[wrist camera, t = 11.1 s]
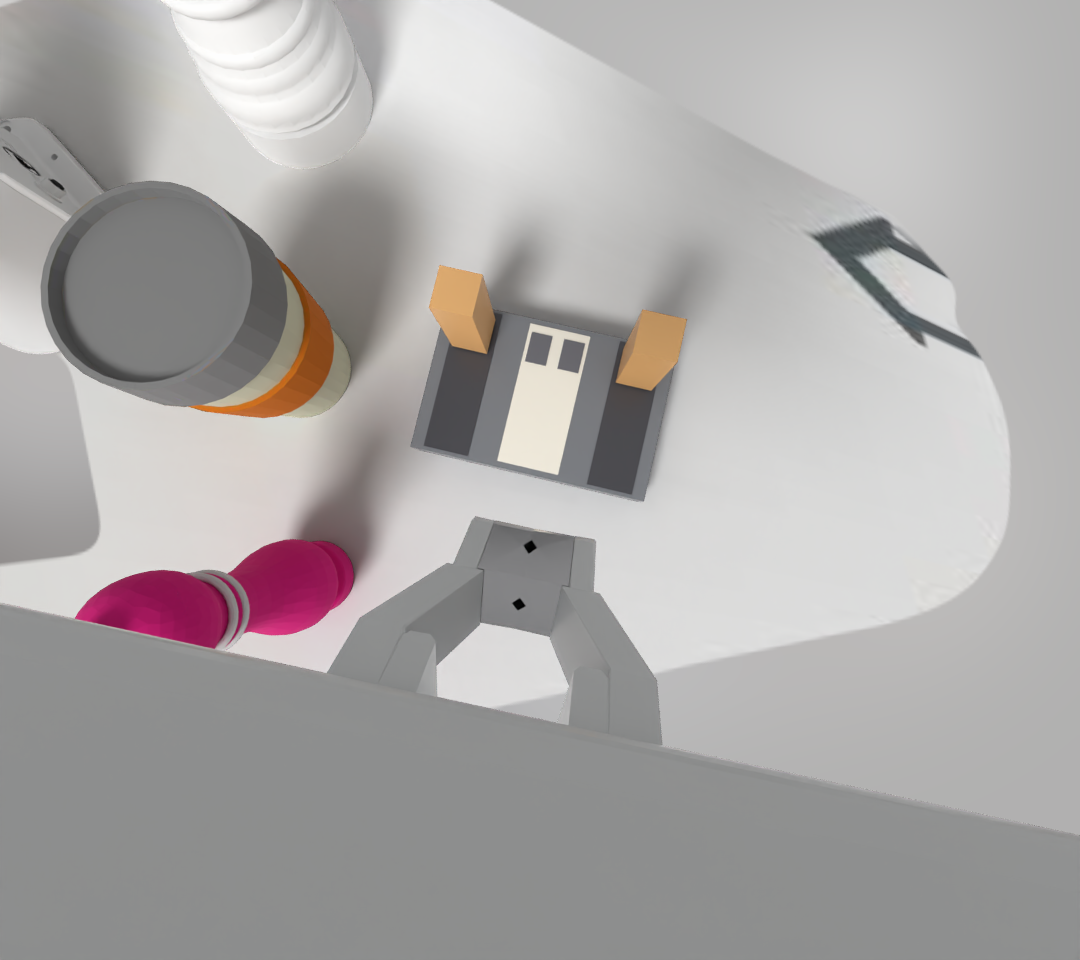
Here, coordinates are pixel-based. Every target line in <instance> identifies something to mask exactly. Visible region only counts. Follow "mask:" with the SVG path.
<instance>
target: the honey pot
mask: <svg viewBox="0 0 1080 960" xmlns="http://www.w3.org/2000/svg"><path fill="white" fill-rule="evenodd" d="M160 1H161V2H162V3H164V4H165V5H166V6H168V7H169V8H170V11H171V15H172V18H173V21H174V23H175V26H176V29H177V31H178V33H179V34H180V36H181V37H182V38H183V40H184V41H185V44H186V46H187V49H188V52H189V54H190V56H191V57H192V59H193V61H194V63H195V66H196V69H197V72H198V74H199V77H200V79H201V81H202V82H203V84H204V86H205V87H206V89H207V90H208V91H209V93H210V94H211V95H212V97H213V98H214V99H215V101H216V102H217V103H218V104H219V105H220V106H221V108H222V109H223V110H224V112H225V113H226V114H227V115H228V116H229V118H230V119H231V120H232V121H233V123H234V124H235V125H236V126H237V128H238V129H239V130H240V131H241V132H242V134H243V135H244V136H245V137H246V138H247V140H248V141H249V142H250V143H251V144H252V146H253V147H254V148H255V149H256V150H257V151H258V152H259V153H261V154H262V155H263V156H264V157H266V158H267V159H268V160H270V161H272V162H275V163H277V164H279V165H282V166H284V167H290V168H298V169H308V168H316V167H322V166H324V165H327V164H329V163H332V162H334V161H337V160H338V159H340V158H341V157H343V156H344V155H345V154H347V153H348V152H350V151H351V150H352V149H353V148H354V147H355V145H356V144H357V143H358V142H359V141H360V139H361V138H362V137H363V135H364V133H365V131H366V129H367V127H368V125H369V122H370V120H371V114H372V108H373V96H372V87H371V84H370V82H369V79H368V77H367V74H366V72H365V70H364V67H363V65H362V62H361V60H360V58H359V55H358V53H357V51H356V48H355V46H354V43H353V41H352V39H351V36H350V34H349V32H348V29H347V27H346V25H345V23H344V20H343V18H342V15H341V13H340V11H339V9H338V8H337V6H336V5H335V3H334V2H333V1H332V0H160Z"/></svg>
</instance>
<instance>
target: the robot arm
mask: <svg viewBox="0 0 1080 960" xmlns="http://www.w3.org/2000/svg"><path fill="white" fill-rule="evenodd" d="M102 193H104V190H103V189H102V188H101V187H100V186H99V185H98V184H97V183H96V182H95V180H94V179H93V178H92V177H91V176H90V175H89V174H88V173H87V171H86V170H85V169H84V168H83V167H82V166H81V165H80V164H79V163H78V161H77V160H76V159H75V158H74V157H73V156H72V155H71V154H70V153H69V151H68V150H67V149H66V148H65V147H64V146H63V145H62V144H61V143H60V141H59V140H58V139H57V138H56V137H55V136H54V135H53V134H52V133H51V132H50V130H49V129H48V128H46V127H45V126H44V125H42V124H41V123H39V122H38V121H36V120H35V119H32V118H11V119H5V120H1V121H0V343H1V344H3V345H5V346H7V347H10V348H12V349H15V350H17V351H21V352H25V353H31V354H49V353H55V352H59V351H60V350H59V349H58V347H57V346H56V345H55V343H54V341H53V339H52V337H51V335H50V333H49V331H48V329H47V327H46V323H45V319H44V315H43V311H42V307H41V288H40V286H41V279H42V273H43V266H44V263H45V260H46V258H47V255H48V252H49V249H50V247H51V245H52V243H53V241H54V240H55V238H56V236H57V235H58V233H59V231H60V229H61V228H62V227H63V226H64V224H65V223H66V222H67V221H68V220H69V219H70V218H71V216H72V215H73V214H74V213H75V212H76V211H77V210H79V209H80V208H81V207H82V206H84V205H85V204H86V203H87V202H89V201H90V200H91V199H93V198H95V197H97V196H99V195H101V194H102ZM595 554H596V541H595V540H594V539H588V538H583V537H577V536H575V537H574V536H570V535H565V534H560V533H554V532H549V531H544V530H538V529H533V528H528V527H523V526H519V525H514V524H510V523H505V522H501V521H494V520H489V519H485V518H480V517H476V516H475V518H474V519H473V520H472V521H471V524H470V526H469V528H468V531H467V533H466V535H465V538H464V540H463V542H462V545H461V547H460V549H459V552H458V554H457V556H456V559H455V561H454V563H453V564H450V563H446V564H445V565H443V566H441V567H440V568H438V569H437V570H435V571H434V572H432V573H430V574H429V575H427V576H426V577H424V578H422V579H421V580H419V581H418V582H416V583H414V584H413V585H411V586H410V587H408V588H406V589H405V590H403V591H402V592H400V593H398V594H397V595H395V596H394V597H392V598H390V599H389V600H387V601H386V602H384V603H383V604H381V605H379V606H378V607H376V608H375V609H373V610H371V611H370V612H368V613H367V614H365V615H363V616H362V617H360V618H359V620H358V622H357V623H356V625H355V627H354V629H353V630H352V632H351V634H350V635H349V637H348V639H347V640H346V642H345V644H344V645H343V647H342V649H341V650H340V652H339V654H338V655H337V657H336V659H335V660H334V662H333V664H332V665H331V667H330V669H329V670H328V672H327V673H323V672H319V671H314V670H310V669H305V668H300V667H296V666H291V665H286V664H282V663H277V662H272V661H268V660H263V659H259V658H254V657H249V656H245V655H240V654H235V653H231V652H226V651H221V650H217V649H212V648H208V647H203V646H198V645H194V644H189V643H184V642H180V641H175V640H171V639H166V638H161V637H157V636H152V635H147V634H143V633H138V632H134V631H129V630H124V629H120V628H115V627H110V626H106V625H101V624H97V623H92V622H87V621H83V620H78V619H74V618H69V617H64V616H60V615H55V614H50V613H46V612H41V611H37V610H32V609H27V608H23V607H18V606H13V605H9V604H4V603H0V960H1080V835H1076V834H1072V833H1067V832H1063V831H1058V830H1053V829H1049V828H1044V827H1039V826H1035V825H1030V824H1025V823H1020V822H1016V821H1011V820H1007V819H1002V818H997V817H993V816H988V815H983V814H979V813H974V812H969V811H965V810H960V809H955V808H951V807H946V806H942V805H937V804H932V803H928V802H923V801H918V800H913V799H909V798H904V797H900V796H895V795H891V794H886V793H881V792H877V791H871V790H867V789H862V788H858V787H853V786H849V785H844V784H839V783H835V782H830V781H825V780H821V779H816V778H811V777H807V776H802V775H797V774H793V773H788V772H784V771H779V770H774V769H769V768H765V767H760V766H756V765H751V764H747V763H742V762H737V761H732V760H728V759H723V758H718V757H714V756H709V755H705V754H700V753H695V752H691V751H686V750H682V749H676V748H672V747H667V746H663V745H662V736H661V724H660V711H659V701H658V700H659V699H658V687H657V680H656V678H655V677H654V675H653V674H652V672H651V671H650V669H649V668H648V666H647V665H646V663H645V662H644V660H643V658H642V657H641V655H640V654H639V652H638V651H637V649H636V648H635V646H634V645H633V643H632V642H631V640H630V639H629V637H628V636H627V634H626V633H625V631H624V630H623V628H622V627H621V625H620V624H619V622H618V620H617V619H616V617H615V616H614V614H613V613H612V611H611V610H610V608H609V607H608V605H607V604H606V602H605V601H604V599H603V598H602V596H601V595H600V594H599V593H595V592H594V574H595ZM480 622H481V623H486V624H492V625H497V626H503V627H509V628H514V629H519V630H523V631H527V632H532V633H536V634H540V635H544V636H549V637H550V640H551V643H552V645H553V648H554V650H555V653H556V655H557V658H558V660H559V662H560V665H561V667H562V670H563V672H564V675H565V677H566V680H567V682H568V684H569V688H568V691H567V694H566V697H565V700H564V703H563V706H562V709H561V712H560V715H559V718H558V721H557V723H556V722H551V721H547V720H542V719H537V718H533V717H528V716H524V715H519V714H514V713H510V712H505V711H500V710H496V709H491V708H486V707H482V706H477V705H472V704H468V703H463V702H458V701H454V700H449V699H444V698H440V697H437V677H436V665H438V664H439V663H440V662H441V661H442V660H443V659H444V658H445V657H446V656H447V655H448V654H449V653H450V652H451V651H452V650H453V649H454V648H456V647H457V646H458V645H459V644H460V643H461V642H462V641H463V640H464V639H465V638H466V637H467V636H468V635H469V634H470V633H471V632H472V631H474V630H475V629H476V628H477V627H478V626H479V625H480ZM515 627H516V628H515Z"/></svg>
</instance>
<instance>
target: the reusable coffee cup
mask: <svg viewBox="0 0 1080 960" xmlns="http://www.w3.org/2000/svg"><path fill="white" fill-rule="evenodd" d="M40 288H41V307H42V311H43V315H44V319H45V323H46V327H47V329H48V331H49V333H50V335H51V337H52V339H53V341H54V343H55V345H56V346H57V347H58V349H59V350H60V351H61V352H62V354H63V355H64V356H65V358H66V359H67V360H68V361H69V362H70V363H71V364H73V365H74V366H75V367H76V368H77V369H79V370H80V371H81V372H82V373H84V374H86V375H87V376H89V377H91V378H93V379H95V380H97V381H99V382H101V383H103V384H106V385H108V386H111V387H114V388H116V389H119V390H122V391H124V392H127V393H130V394H132V395H135V396H138V397H140V398H143V399H146V400H149V401H152V402H156V403H159V404H162V405H169V406H181V407H187V406H188V407H191V408H195V409H198V410H201V411H205V412H214V413H222V414H231V415H240V416H248V417H259V418H267V417H276V416H280V415H281V416H288V417H298V418H304V417H312V416H315V415H318V414H321V413H323V412H325V411H327V410H328V409H330V408H331V407H332V406H333V405H335V404H336V403H337V402H338V400H339V399H340V398H341V397H342V396H343V394H344V392H345V390H346V388H347V386H348V383H349V380H350V374H351V362H350V357H349V353H348V350H347V348H346V346H345V344H344V343H343V341H342V340H341V339H340V338H339V336H338V335H337V334H336V333H335V332H334V330H333V329H332V328H331V326H330V323H329V320H328V319H327V317H326V315H325V313H324V311H323V310H322V308H321V307H320V306H319V305H318V304H317V302H316V301H315V300H314V299H313V297H312V296H311V295H310V294H309V293H308V291H307V290H306V289H305V288H304V286H303V285H302V284H301V283H300V282H299V280H298V279H297V278H296V277H295V275H294V274H293V273H292V272H291V271H290V269H289V268H288V267H287V266H286V265H285V264H284V263H282V262H281V261H280V260H279V259H277V258H276V257H275V255H274V253H273V251H272V250H271V249H270V248H269V246H268V245H267V244H266V243H265V242H264V240H263V239H262V238H261V237H260V236H259V235H258V234H257V233H255V232H254V231H253V230H252V229H250V228H249V227H248V226H247V225H245V224H244V223H243V222H241V221H240V220H239V219H237V218H236V217H234V216H233V215H232V214H230V213H229V212H228V211H226V210H225V209H224V208H222V207H221V206H220V205H218V204H217V203H216V202H214V201H213V200H211V199H210V198H209V197H207V196H205V195H203V194H201V193H199V192H197V191H195V190H193V189H191V188H189V187H186V186H182V185H178V184H175V183H171V182H159V181H145V182H136V183H129V184H126V185H123V186H120V187H116V188H113V189H110V190H108V191H106V192H104V193H102V194H101V195H99V196H97V197H95V198H93V199H91V200H90V201H89V202H87V203H86V204H85V205H84V206H82V207H81V208H80V209H79V210H77V211H76V212H75V213H74V214H73V215H72V216H71V218H70V219H69V220H68V221H67V222H66V223H65V224H64V226H63V227H62V228H61V229H60V231H59V233H58V235H57V236H56V238H55V240H54V241H53V243H52V245H51V247H50V249H49V252H48V255H47V258H46V260H45V263H44V266H43V273H42V279H41V286H40Z"/></svg>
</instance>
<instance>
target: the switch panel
mask: <svg viewBox="0 0 1080 960" xmlns="http://www.w3.org/2000/svg"><path fill="white" fill-rule="evenodd" d="M493 313H494V316H495V324H494V328H493V332H492V336H491V340H490V344H489V348H488V352H487V354H485V353H481V352H476V351H472V350H467V349H463V348H459V347H454V346H452V345H451V343H450V341H449V340H448V338H447V336H446V335H445V333H444V331H443V330H442V328H440V332H439V336H438V340H437V344H436V347H435V351H434V355H433V359H432V363H431V367H430V371H429V375H428V379H427V383H426V387H425V391H424V395H423V399H422V403H421V407H420V411H419V414H418V418H417V422H416V426H415V430H414V434H413V438H412V442H411V447H413V448H415V449H418V450H421V451H425V452H429V453H434V454H438V455H442V456H446V457H451V458H455V459H459V460H463V461H468V462H472V463H476V464H480V465H485V466H489V467H493V468H497V469H502V470H506V471H510V472H514V473H518V474H523V475H527V476H531V477H535V478H540V479H544V480H548V481H552V482H557V483H561V484H565V485H569V486H574V487H578V488H582V489H586V490H591V491H595V492H599V493H603V494H608V495H612V496H616V497H620V498H624V499H629V500H633V501H637V502H639V501H644V498H645V494H646V489H647V485H648V481H649V476H650V472H651V467H652V463H653V458H654V454H655V449H656V445H657V440H658V436H659V432H660V427H661V423H662V418H663V414H664V409H665V405H666V400H667V396H668V391H669V387H670V383H671V378H672V374H673V369H674V367H673V368H672V369H671V370H670V371H669V372H668V373H667V374H666V375H665V376H664V377H663V378H662V380H661V381H660V382H659V383H658V384H657V385H656V386H655V387H654V388H653V389H652V390H651V391H650V390H646V389H641V388H637V387H633V386H628V385H624V384H619V383H616V379H617V375H618V370H619V366H620V362H621V357H622V353H623V349H624V346H625V344H626V342H627V339H623V338H618V337H614V336H609V335H605V334H600V333H596V332H592V331H587V330H583V329H578V328H574V327H569V326H565V325H560V324H556V323H551V322H547V321H543V320H538V319H534V318H529V317H525V316H520V315H516V314H511V313H507V312H503V311H498V310H494V309H493Z"/></svg>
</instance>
